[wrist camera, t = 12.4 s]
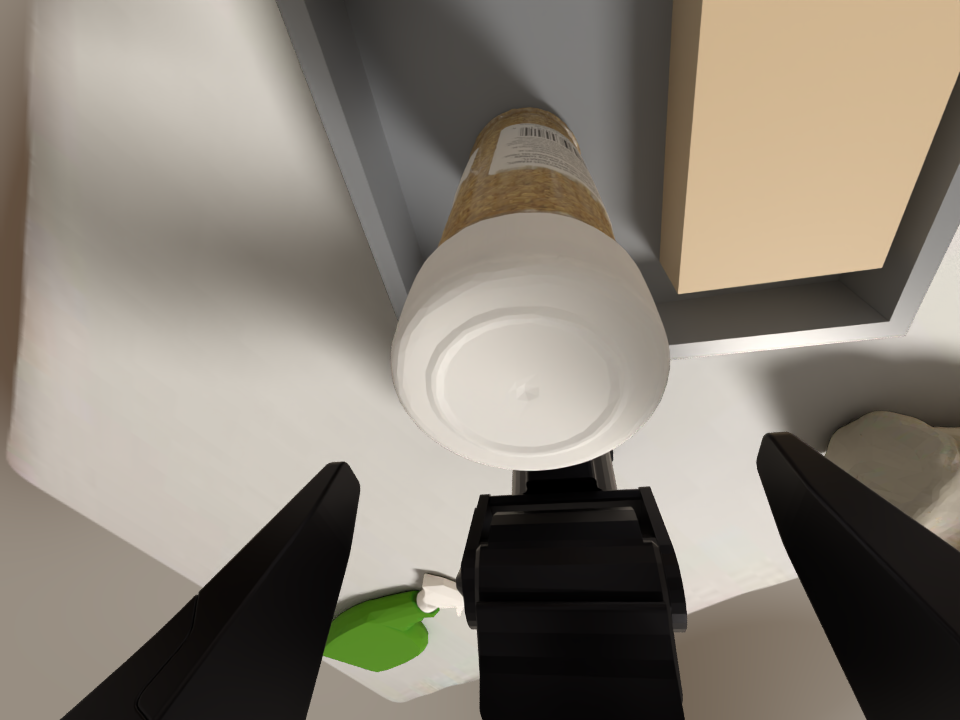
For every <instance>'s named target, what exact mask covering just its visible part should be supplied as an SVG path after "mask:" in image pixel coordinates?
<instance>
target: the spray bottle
mask: <svg viewBox="0 0 960 720" xmlns="http://www.w3.org/2000/svg"><path fill="white" fill-rule="evenodd" d="M422 588H423V590H421V591H415V590H414V591H409V592H404V593H399V594H394V595H389V596H385V597H382V598H378V599H372V600H368V601H365V602H363V603H361V604H358V605H356V606H353V607H352V608H350V609H348V610H346V611H344V612H343V613H341V614H340V615H339V616H338V617H337V618H336V619H334V620H333V621H332V623H331V627H330V631H329V634H328V638H327V642H326V646H325V649H324V653H323V656H325V657H329V658H332V659H335V660H338V661H341V662H345V663H348V664H351V665H354V666H357V667H361V668H364V669H367V670H370V671H375V672H379V671H384V670H389V669H391V668H393V667H396V666H398V665H401V664H403V663H406V662H407V661H409V660H411V659H413V658H414V657H416V656H418V655H419V654H420V653H421V652H423V651H424V649H425V648H426V646H427V644H428V631H427V629H426V627H425V626H424V624H423V623H422V622H421V621H422V620H423V618H427V617H434V616H435V615H436V614H437V613H438V611H439V608H452V607H456V612H457V616H460V615H461V612H462V610H463V609H464V600H463V596H462V595H461V594H460V593H459V591H458V590H457V588H456V582H453V581H451V580H448V579H446V578H443V577H438V576H434V575H430V574H426V573H425V574H424V578H423V584H422Z"/></svg>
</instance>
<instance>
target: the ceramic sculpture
mask: <svg viewBox="0 0 960 720" xmlns="http://www.w3.org/2000/svg"><path fill="white" fill-rule="evenodd" d="M825 457H826V458H828V459H829V460H830V461H832V462H833V463H835V464H836V465H838V466H839V467H840V468H842V469H843V470H845V471H846V472H848V473H849V474H850V475H852V476H853V477H855V478H856V479H858V480H859V481H860V482H862V483H863V484H865V485H866V486H868V487H869V488H870V489H872V490H873V491H875V492H876V493H878V494H879V495H880V496H882V497H883V498H885V499H886V500H888V501H889V502H890V503H892V504H893V505H895V506H896V507H897V508H899V509H900V510H902V511H903V512H905V513H906V514H907V515H909V516H910V517H912V518H913V519H915V520H916V521H917V522H919V523H920V524H922V525H923V526H925V527H926V528H927V529H929V530H930V531H932V532H933V533H935V534H936V535H937V536H939V537H940V538H942V539H943V540H945V541H946V542H947V543H949V544H950V545H952V546H953V547H955V548H956V549H957V550H959V551H960V427H954V428H947V427H931V426H930V425H928V424H926V423H925V422H923V421H921V420H919V419H917V418H914V417H911V416H906V415H902V414H898V413H894V412H889V411H873V412H870V413H868V414H865V415H863V416H862V417H860V418H859V419H857V420H856V421H854V422H851V423H849V424H847V425H846V426H843V427H841V428H839V429H838V430H837V431H836V432H835V433H834V434H833V435H832V437H831V440H830V442H829V444H828V449H827V452H826V454H825Z"/></svg>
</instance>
